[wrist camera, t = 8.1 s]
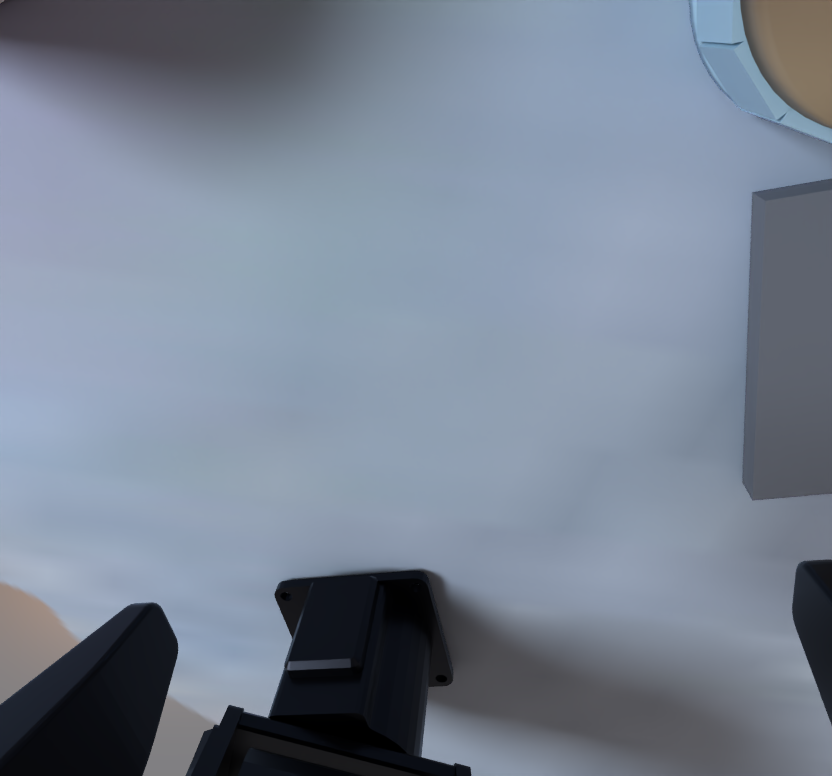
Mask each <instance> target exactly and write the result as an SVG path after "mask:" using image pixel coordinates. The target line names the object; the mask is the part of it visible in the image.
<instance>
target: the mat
mask: <svg viewBox="0 0 832 776" xmlns="http://www.w3.org/2000/svg"><path fill="white" fill-rule="evenodd" d="M743 484H744V486H745V488H746V489H747V491H748V493H749V495H750V497H751V499H752V500H763V499H774V498H785V497H797V496H808V495H819V494H831V493H832V179H828V180H822V181H816V182H810V183H805V184H799V185H793V186H787V187H781V188H776V189H770V190H764V191H758V192H752V220H751V249H750V278H749V308H748V337H747V366H746V395H745V424H744V453H743Z"/></svg>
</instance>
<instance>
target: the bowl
mask: <svg viewBox="0 0 832 776" xmlns="http://www.w3.org/2000/svg"><path fill="white" fill-rule="evenodd" d="M689 7H690V21H691V26H692V31H693V36H694V41H695V44H696V46H697V49H698V52H699V55H700V58H701V60H702V62H703V64H704V66H705V68H706V69H707V71H708V73H709V75H710V76H711V78H712V79H713V80H714V82H715V83H716V84H717V86H718V87H719V88H720V90H721V91H722V92H723V93H724V94H725V95H727V96H728V97H729V98H730V99H731V100H732V101H733V102H734V104H735V105H736V107H739V108H741V109H740V110H742V111H745V112H747V113H750V114H753V115H755V116H758V117H760V118H762V119H765V120H768V121H771V122H774V123H776V124H779V125H781V126H784V127H787V128H789V129H792V130H794V131H797V132H800V133H802V134H805V135H808V136H811V137H813V138H816V139H819V140H822V141H825V142H828V143H831V144H832V129H831V128H828V127H825V126H822V125H820V124H818V123H816V122H814V121H812V120H810V119H808V118H805V117H804V116H802V115H801V114H800V113H798V112H797V111H795V110H794V109H792V108H791V107H789V106H788V105H787V104H786V103H785V102H784V101H783V100H782V99H781V98H780V97H779V96H778V95H777V94H776V93H775V92H774V91H773V90H772V88H771V87H770V85H769V84H768V83H767V81H766V80H765V79H764V77H763V76H762V74H761V72H760V70H759V68H758V66H757V65H756V63H755V61H754V59H753V57H752V54H751V51H750V48H749V45H748V42H747V39H746V36H745V32H744V26H743V21H742V15H741V7H740V0H689Z"/></svg>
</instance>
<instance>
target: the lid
mask: <svg viewBox="0 0 832 776" xmlns="http://www.w3.org/2000/svg"><path fill="white" fill-rule="evenodd" d="M740 7H741V15H742V21H743V26H744V32H745V36H746V39H747V42H748V45H749V48H750V51H751V54H752V57H753V59H754V61H755V63H756V65H757V66H758V68H759V70H760V72H761V74H762V76H763V77H764V79H765V80H766V81H767V83H768V84H769V85H770V87H771V88H772V90H773V91H774V92H775V93H776V94H777V95H778V96H779V97H780V98H781V99H782V100H783V101H784V102H785V103H786V104H787V105H788V106H789V107H791V108H792V109H794V110H795V111H797V112H798V113H800V114H801V115H802V116H804V117H805V118H808V119H810V120H812V121H814V122H816V123H818V124H820V125H822V126H825V127H828V128H831V129H832V0H740Z"/></svg>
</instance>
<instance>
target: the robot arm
mask: <svg viewBox="0 0 832 776" xmlns="http://www.w3.org/2000/svg"><path fill="white" fill-rule="evenodd" d="M413 583H418V584H419V585H417V584H413ZM286 592H288V593H290V594H288V593H286ZM275 598H276V601H277V603H278V606H279V608H280V610H281V613H282V615H283V617H284V620H285V622H286V624H287V627H288V629H289V632H290V634H291V636H292V643H291V646H290V649H289V652H288V655H287V658H286V661H285V666H284V667H285V668H284V671H283V674H282V677H281V680H280V683H279V686H278V689H277V692H276V695H275V698H274V701H273V704H272V707H271V710H270V713H269V716H268V718H267V717H263V716H259V715H255V714H251V713H247V712H244V709H243V708H240V707H236V706H232V705H229V706H228V708H227V710H226V712H225V714H224V717H223V719H222V721H221V723H220V725H214V727H213V729H211V730H207V731H204V733H203V736H202V738H201V741H200V743H199V745H198V748H197V751H196V753H195V755H194V758H193V760H192V762H191V765H190V767H189V769H188V772H187V774H186V776H471V769H470V767H468V766H464V765H461V764H457V763H455V764H454V766H453V765H449V764H445V763H441V762H437V761H434V760H430V759H426V758H422V757H421V754H422V745H423V735H424V725H425V715H426V705H427V695H428V687H434V686H447V685H449V684H451V683H452V681H453V668H452V664H451V660H450V656H449V653H448V649H447V645H446V641H445V638H444V634H443V630H442V626H441V623H440V619H439V615H438V611H437V608H436V604H435V600H434V596H433V593H432V589H431V585H430V581H429V578H428V577H427V575H426V574H424V573H423V572H420V571H406V572H392V573H379V574H366V575H353V576H340V577H327V578H314V579H301V580H287V581H282V582H280V583H279V584H278V586H277V589H276V592H275ZM792 614H793V620H794V623H795V627H796V630H797V632H798V635H799V638H800V641H801V643H802V646H803V649H804V651H805V654H806V657H807V660H808V662H809V665H810V668H811V670H812V673H813V676H814V679H815V681H816V684H817V687H818V689H819V692H820V695H821V698H822V700H823V703H824V706H825V708H826V711H827V714H828V716H829V719H830V722H831V725H832V560H813V561H803V562H801V563H799V564H798V566H797V569H796V575H795V585H794V595H793V604H792ZM177 655H178V642H177V638H176V636H175V634H174V632H173V630H172V628H171V626H170V624H169V622H168V620H167V618H166V616H165V614H164V612H163V610H162V608H161V606H159V605H158V604H157V603H153V602H151V603H135V604H131V605H129V606H127V607H126V608H124V609H123V610H122V611H120V612H119V613H118V614H117V615H115V616H114V617H113V618H111V619H110V620H109V621H108V622H106V623H105V624H104V625H102V626H101V627H100V628H99V629H97V630H96V631H95V632H93V633H92V634H91V635H89V636H88V637H87V638H86V639H84V640H83V641H82V642H80V643H79V644H78V645H77V646H75V647H74V648H73V649H71V650H70V651H69V652H68V653H66V654H65V655H64V656H62V657H61V658H60V659H59V660H57V661H56V662H55V663H54V664H52V665H51V666H50V667H48V668H47V669H46V670H44V671H43V672H42V673H41V674H39V675H38V676H37V677H35V678H34V679H33V680H32V681H30V682H29V683H28V684H26V685H25V686H24V687H22V688H21V689H20V690H19V691H18V692H16V693H15V694H13V695H12V696H11V697H10V698H8V699H7V700H6V701H4V702H3V703H2V704H1V705H0V776H142V775H143V773H144V770H145V767H146V764H147V761H148V758H149V755H150V752H151V749H152V746H153V742H154V739H155V735H156V732H157V728H158V725H159V721H160V717H161V714H162V710H163V707H164V703H165V699H166V696H167V692H168V688H169V685H170V681H171V678H172V674H173V670H174V667H175V663H176V660H177Z"/></svg>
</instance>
